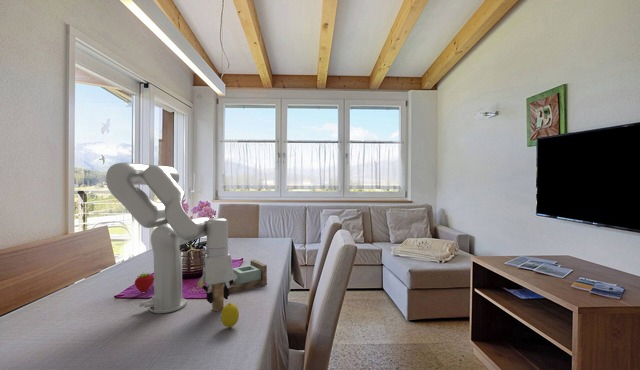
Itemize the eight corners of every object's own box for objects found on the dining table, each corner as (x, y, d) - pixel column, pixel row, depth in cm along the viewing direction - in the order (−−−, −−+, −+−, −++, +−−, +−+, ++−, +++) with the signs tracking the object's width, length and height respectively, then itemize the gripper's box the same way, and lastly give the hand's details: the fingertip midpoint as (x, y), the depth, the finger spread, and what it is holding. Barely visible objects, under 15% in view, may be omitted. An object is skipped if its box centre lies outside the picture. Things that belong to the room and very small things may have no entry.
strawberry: (157, 291, 128) (157, 268, 128) (139, 297, 121) (139, 273, 121) (149, 289, 131) (148, 267, 131) (131, 295, 124) (131, 271, 124)
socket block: (240, 286, 130) (240, 273, 130) (231, 281, 138) (231, 268, 138) (261, 282, 136) (260, 269, 136) (251, 276, 144) (251, 264, 144)
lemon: (229, 333, 91) (228, 308, 91) (217, 329, 94) (217, 304, 94) (242, 326, 96) (242, 301, 96) (230, 322, 99) (230, 298, 99)
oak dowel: (214, 312, 107) (214, 284, 107) (210, 308, 110) (210, 282, 110) (225, 309, 109) (225, 282, 109) (221, 305, 113) (221, 279, 113)
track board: (224, 294, 124) (224, 273, 124) (213, 286, 134) (213, 266, 134) (266, 284, 136) (266, 265, 136) (254, 277, 146) (254, 259, 146)
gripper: (196, 257, 102) (197, 309, 102) (243, 250, 112) (243, 297, 112) (190, 253, 107) (191, 302, 107) (235, 246, 118) (235, 292, 118)
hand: (217, 299), depth 110 cm, fingers open, 5 cm apart
